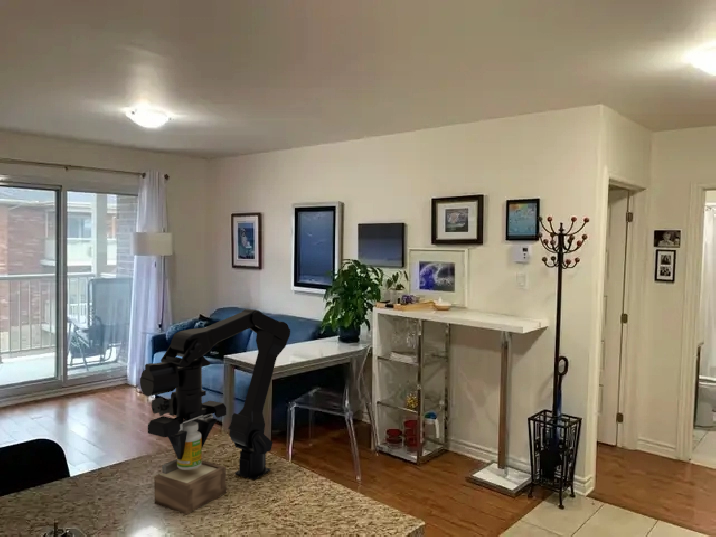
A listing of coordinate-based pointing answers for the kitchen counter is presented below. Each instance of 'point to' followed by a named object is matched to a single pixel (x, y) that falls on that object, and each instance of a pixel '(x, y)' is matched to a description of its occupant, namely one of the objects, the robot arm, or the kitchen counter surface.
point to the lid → (184, 472)
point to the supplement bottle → (191, 448)
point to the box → (190, 490)
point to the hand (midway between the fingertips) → (189, 454)
